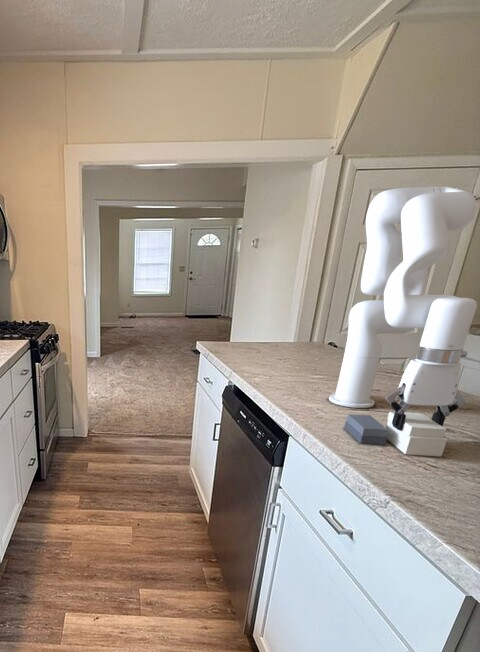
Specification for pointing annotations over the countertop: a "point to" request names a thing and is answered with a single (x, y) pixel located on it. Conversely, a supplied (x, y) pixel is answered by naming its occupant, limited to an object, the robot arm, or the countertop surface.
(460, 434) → the countertop surface
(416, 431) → the white book
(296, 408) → the countertop surface
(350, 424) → the grey books
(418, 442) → the white books
